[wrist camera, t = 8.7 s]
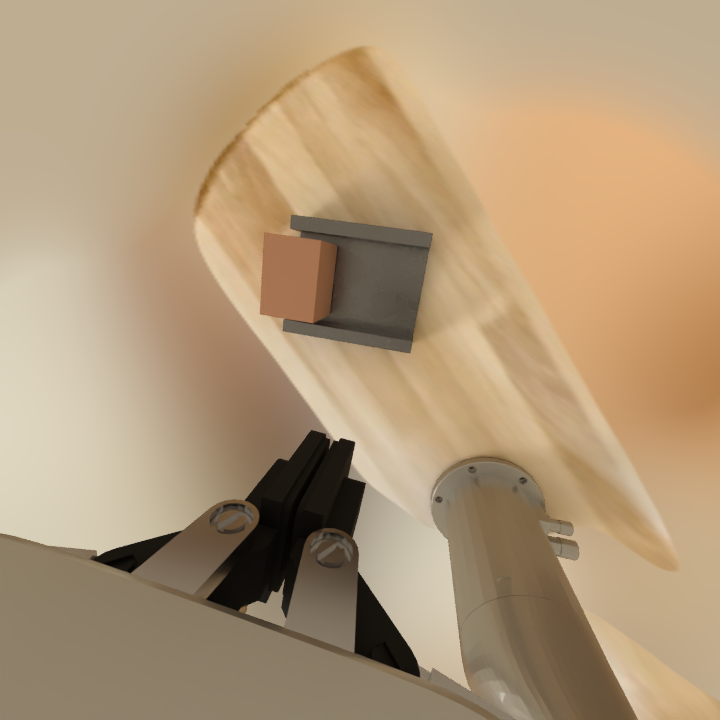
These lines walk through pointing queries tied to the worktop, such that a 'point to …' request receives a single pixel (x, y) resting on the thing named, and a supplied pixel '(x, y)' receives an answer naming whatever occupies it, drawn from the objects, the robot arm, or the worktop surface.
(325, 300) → the block
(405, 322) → the chute
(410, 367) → the worktop surface
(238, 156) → the worktop surface
